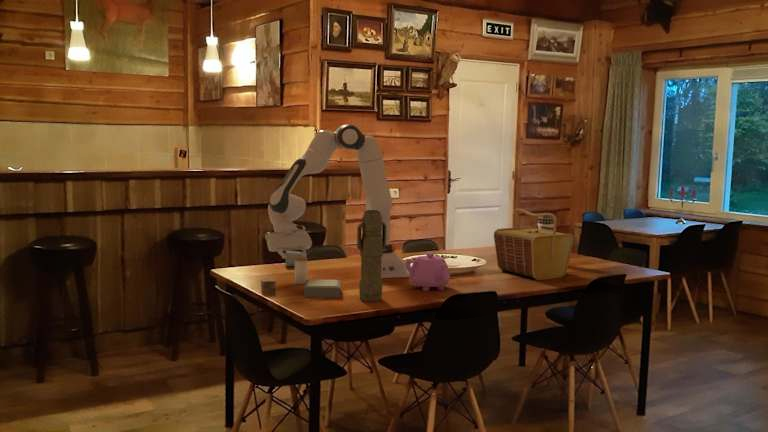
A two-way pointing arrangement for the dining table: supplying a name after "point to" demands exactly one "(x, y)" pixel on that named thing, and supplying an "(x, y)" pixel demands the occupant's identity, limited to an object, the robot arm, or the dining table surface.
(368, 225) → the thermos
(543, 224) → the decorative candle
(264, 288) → the walnut cube
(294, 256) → the ceramic mug
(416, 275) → the purple piggy bank
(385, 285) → the dining table surface
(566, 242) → the picnic basket
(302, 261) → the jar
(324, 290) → the plinth
